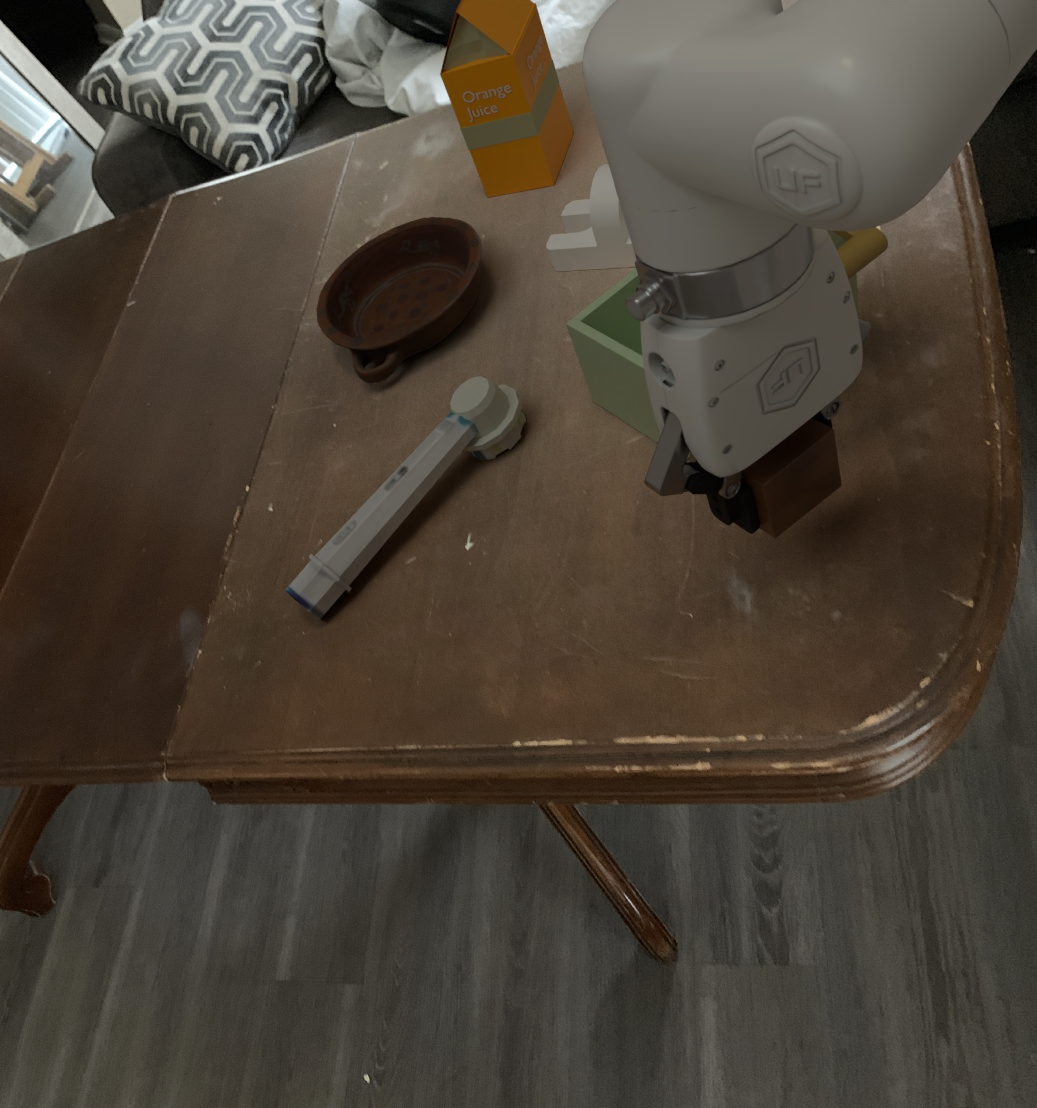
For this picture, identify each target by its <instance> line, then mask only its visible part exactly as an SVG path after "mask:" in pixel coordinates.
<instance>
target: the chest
mask: <svg viewBox="0 0 1037 1108" xmlns="http://www.w3.org/2000/svg"><path fill="white" fill-rule="evenodd" d="M845 242H847V240H845V239H844V238H843V239H841V240H840V241H839V242H838V243H836V244H835V247H836V249H838V248H839V247H840V246H842V245H843V244H844V243H845ZM639 283H640V280H639V276H638V273H637V269H636V267H634V269H633V270H631V271H630V272H629V273H627V274H626V275H625V276H624V277H622V278H621V279H620V280H619V281H617V282H616V283H615V284H614V285H612V286H611V287H610V288H609V289H607V290H606V291H605V292H603V293H602V294H601V295H600V296H598V298H596V299H595V300H594V301H592V302H591V303H590V304H588V305H587V306H586V307H584V308H583V309H582V310H581V311H579V312H578V313H577V314H576V315H574V317H572V318H571V319H569V320H568V321H567V322H566V323H565V326H566V329H567V331H568V334H569V337H570V340H571V342H572V343H571V344H572V346H573V347H574V348H573V349H574V352H575V354H576V356H577V360H578V363H579V366H580V368H581V372H582V374H583V376H584V379H585V383H586V385H587V388H588V391H589V393H590V396H591V399H592V402H593V403H595V404H596V405H598V406H600V407H601V408H602V409H604V410H605V411H607V412H608V413H611V414H612V415H613V416H615V417H616V418H618V419H620V420H621V421H622V422H624V423H625V424H627V425H628V426H630V427H632V428H633V429H634V430H637V431H638V432H639V433H641V434H643V435H644V436H646V437H648V438H649V439H650V440H652V441H653V442H654V443H656V444H658V441H659V438H660V435H661V434H660V431H659V428H658V425H657V422H656V419H655V416H654V412H653V409H652V405H651V401H650V396H649V392H648V387H647V383H646V377H645V370H644V364H643V355H642V346H641V330H640V321H638V320H637V319H635V318H634V317H633V316H632V315H631V314H630V312H629V311H628V309H627V307H626V304H625V302H626V299H628V298H629V297H630V296H632V295H633V294H634V293H635V292H636V288H637V287H638V286H639ZM849 283H850V287H851V290H852V294H853V298H854V303H855V307H856V311H857V316H858V318H859V319H860V308H859V307H860V305H859V291H858V290H859V289H858V277H857V273H856V274H855V275H854V276H853V277H851V278H850V279H849ZM687 460H690V452H689V454H688V457H687V459H686V461H687Z"/></svg>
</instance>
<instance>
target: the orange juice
mask: <svg viewBox="0 0 1037 1108" xmlns="http://www.w3.org/2000/svg"><path fill="white" fill-rule="evenodd" d="M439 76H440V78H441V80H442V83H443V85H444V88H445V91H446V94H447V97H448V99H449V102H450V104H451V107H452V109H453V112H454V115H455V117H456V120H457V122H458V126H459V128H460V131H461V134H462V137H463V140H464V142H465V144H466V148H467V149H468V151H469V154H470V156H471V158H472V161H473V164H474V166H475V167H474V168H475V169H476V172H477V174H478V177H479V179H480V180H479V181H480V182H481V184H482V187H483V190H484V192H485V195H486V198H493V197H498V196H504V195H508V194H514V193H520V192H525V191H530V190H531V191H532V190H536V189H541V188H547V187H553V186H555V184H556V181H557V179H558V176H559V173H560V171H561V169H562V166H563V163H564V161H565V158H566V156H567V153H568V150H569V147H570V145H571V142H572V140H573V137H574V134H575V133H574V129H573V125H572V122H571V119H570V115H569V112H568V109H567V105H566V102H565V99H564V95H563V91H562V88H561V85H560V79H559V76H558V72H557V69H556V66H555V62H554V59H553V57H552V53H551V50H550V46H549V43H548V40H547V37H546V33H545V30H544V26H543V23H542V20H541V17H540V13H539V10H538V5H537V3H536V2H533V0H460V2H459V3H458V5H457V7H456V9H455V13H454V16H453V21H452V25H451V28H450V32H449V36H448V40H447V45H446V49H445V53H444V56H443V61H442V64H441V69H440V73H439Z"/></svg>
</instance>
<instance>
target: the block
mask: <svg viewBox="0 0 1037 1108" xmlns="http://www.w3.org/2000/svg"><path fill="white" fill-rule="evenodd" d="M837 448H838V447H837V441H836V435H835V430H834V428H833V429H832V428H831V427H829V426H827V425H825V424H823V423H821V422H819V421H817V420H815V419H813V418H810V419H809V420H808V421H807V422H805V423H804V424H803V425H802V426H800V427H799V428H798V429H797V430H795V431H794V432H793V433H792V434H790V435H789V436H788V437H787V438H785V439H784V440H783V441H781V442H780V443H779V444H778V445H776V446H775V447H774V448H772V449H771V450H770V451H769V452H767V453H766V454H765V455H763V456H762V457H761V458H759V459H758V460H757V461H755V462H754V463H753V464H751V465H750V466H748V467H747V468H745V469H744V470H743V471H742V482H744V483H746V484H747V485H749V486H750V488H751V489H752V492H753V496H754V501H755V505H756V509H757V513H758V517H759V521H760V525H759V527H760V528H759V529H760V530H761V531H763V532H764V533H765V534H767V535H769V536H771V537H772V538H773V539H776V538H778V537H779V536H780V535H782V534H783V533H784V532H786V531H787V530H788V529H789V528H791V527H792V526H793V525H795V524H796V523H797V522H799V520H801V519H802V518H803V517H804V516H806V515H807V514H809V512H811V511H812V510H813V509H814V508H816V507H817V506H818V505H820V504H821V503H822V502H823V501H824V500H826V499H827V498H828V497H830V496H831V495H832V494H833V493H835V492H836V491H838V489H840V488H841V487H842V485H843V484H842V477H841V471H840V463H839V456H838V449H837Z"/></svg>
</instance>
